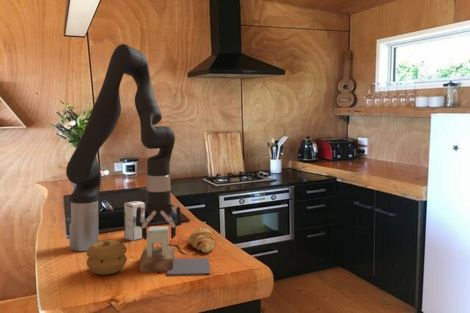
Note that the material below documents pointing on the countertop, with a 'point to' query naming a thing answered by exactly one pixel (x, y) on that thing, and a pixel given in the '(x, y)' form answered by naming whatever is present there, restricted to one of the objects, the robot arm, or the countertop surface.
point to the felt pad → (190, 267)
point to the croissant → (203, 240)
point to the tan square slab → (157, 260)
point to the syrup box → (132, 220)
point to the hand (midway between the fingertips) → (159, 238)
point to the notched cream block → (157, 239)
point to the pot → (106, 257)
